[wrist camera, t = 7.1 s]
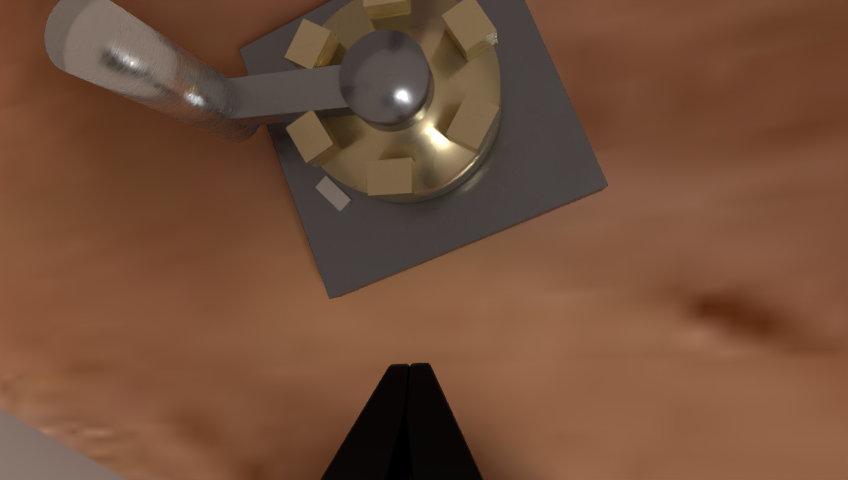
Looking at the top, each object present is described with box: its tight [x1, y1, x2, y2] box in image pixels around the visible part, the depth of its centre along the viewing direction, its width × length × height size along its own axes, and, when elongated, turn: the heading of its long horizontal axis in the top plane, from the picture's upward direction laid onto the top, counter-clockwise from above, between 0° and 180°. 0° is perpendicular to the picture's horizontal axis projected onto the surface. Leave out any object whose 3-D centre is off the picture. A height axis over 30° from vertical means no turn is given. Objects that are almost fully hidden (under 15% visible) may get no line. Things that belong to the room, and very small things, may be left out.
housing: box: [239, 0, 608, 299], centre depth 22 cm, size 14×14×2 cm
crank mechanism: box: [44, 0, 502, 203], centre depth 17 cm, size 14×9×10 cm, turn 92°
